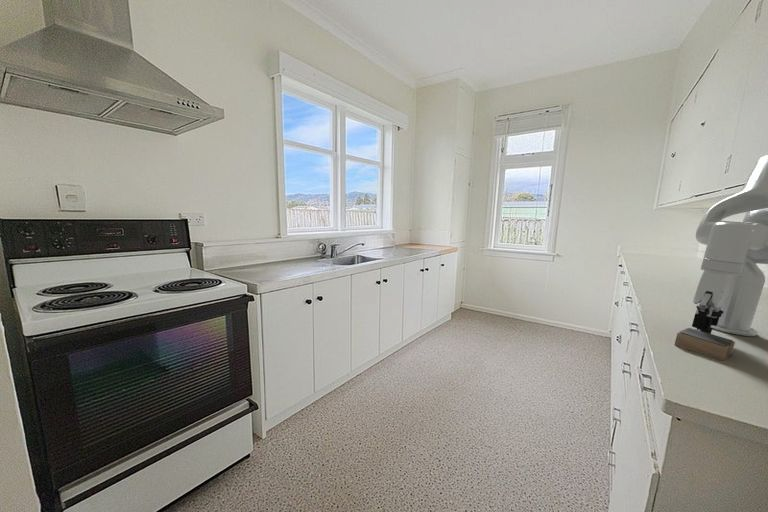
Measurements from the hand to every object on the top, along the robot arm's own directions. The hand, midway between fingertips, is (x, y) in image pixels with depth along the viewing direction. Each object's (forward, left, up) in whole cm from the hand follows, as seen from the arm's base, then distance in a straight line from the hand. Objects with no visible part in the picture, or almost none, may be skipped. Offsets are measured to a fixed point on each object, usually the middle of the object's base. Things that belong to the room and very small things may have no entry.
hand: (704, 326), depth 85 cm
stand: (+10, +3, -4) cm, 11 cm away
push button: (0, 0, -4) cm, 4 cm away
